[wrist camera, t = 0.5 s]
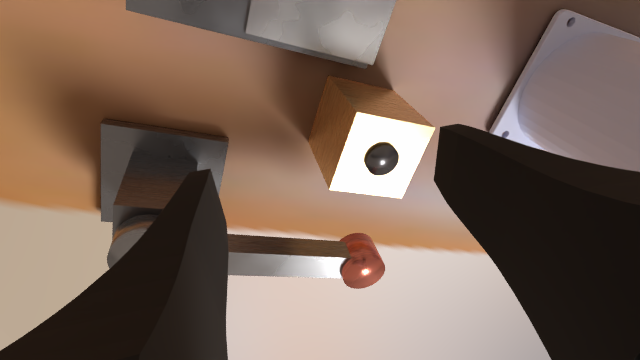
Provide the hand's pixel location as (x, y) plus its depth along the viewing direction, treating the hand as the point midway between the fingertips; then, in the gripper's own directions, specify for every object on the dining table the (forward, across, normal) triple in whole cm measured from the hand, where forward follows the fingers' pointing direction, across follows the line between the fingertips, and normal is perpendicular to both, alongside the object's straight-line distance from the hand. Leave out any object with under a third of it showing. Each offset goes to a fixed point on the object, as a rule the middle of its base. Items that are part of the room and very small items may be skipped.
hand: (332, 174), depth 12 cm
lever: (+4, +3, +6) cm, 8 cm away
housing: (+10, -3, +3) cm, 11 cm away
